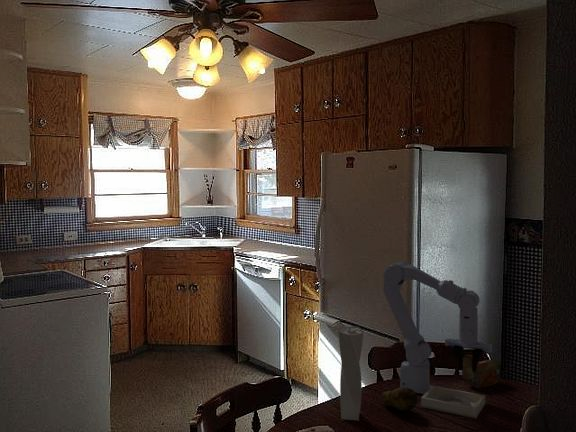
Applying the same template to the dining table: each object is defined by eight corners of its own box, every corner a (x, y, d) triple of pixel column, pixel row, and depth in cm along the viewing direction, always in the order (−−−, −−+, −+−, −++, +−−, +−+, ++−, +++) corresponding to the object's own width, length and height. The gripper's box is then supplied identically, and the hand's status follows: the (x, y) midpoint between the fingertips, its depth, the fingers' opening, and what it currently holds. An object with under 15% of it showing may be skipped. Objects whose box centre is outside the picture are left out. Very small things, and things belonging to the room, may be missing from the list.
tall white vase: (362, 423, 156) (363, 327, 155) (337, 421, 157) (337, 326, 156) (363, 412, 163) (363, 321, 162) (339, 410, 165) (339, 320, 164)
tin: (471, 390, 182) (471, 365, 182) (464, 387, 185) (464, 363, 184) (502, 383, 189) (502, 359, 189) (494, 380, 192) (495, 357, 191)
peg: (460, 377, 174) (461, 356, 173) (463, 374, 177) (463, 353, 176) (472, 379, 172) (472, 358, 172) (474, 376, 175) (475, 355, 175)
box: (421, 407, 167) (421, 397, 167) (433, 394, 178) (433, 385, 178) (475, 418, 158) (476, 408, 158) (484, 404, 169) (485, 395, 169)
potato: (402, 401, 172) (403, 377, 171) (421, 417, 159) (422, 391, 159) (378, 404, 170) (378, 379, 169) (396, 420, 157) (396, 393, 157)
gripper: (442, 328, 174) (442, 369, 174) (489, 334, 166) (488, 377, 167) (448, 324, 180) (447, 364, 180) (493, 329, 172) (493, 371, 173)
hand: (467, 370), depth 174 cm, fingers closed on peg, 4 cm apart
